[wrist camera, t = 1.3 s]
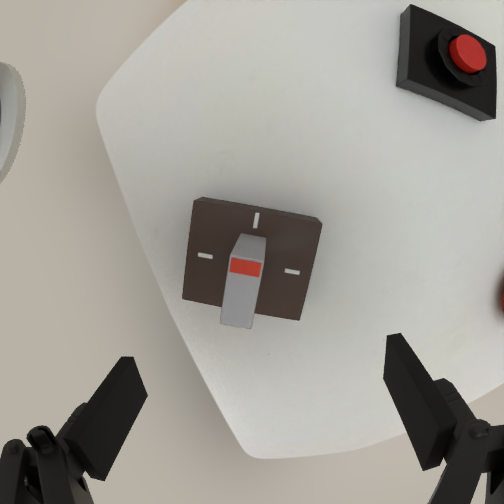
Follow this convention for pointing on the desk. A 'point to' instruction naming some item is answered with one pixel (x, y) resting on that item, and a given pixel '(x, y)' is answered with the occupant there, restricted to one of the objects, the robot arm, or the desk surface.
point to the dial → (243, 281)
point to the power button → (467, 54)
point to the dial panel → (275, 263)
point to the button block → (444, 65)
